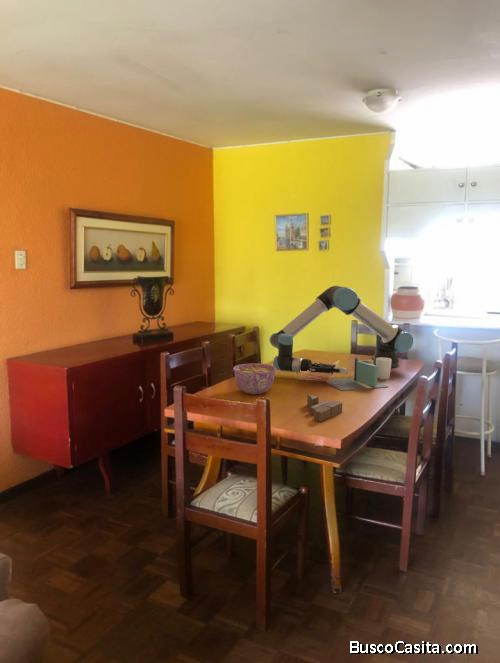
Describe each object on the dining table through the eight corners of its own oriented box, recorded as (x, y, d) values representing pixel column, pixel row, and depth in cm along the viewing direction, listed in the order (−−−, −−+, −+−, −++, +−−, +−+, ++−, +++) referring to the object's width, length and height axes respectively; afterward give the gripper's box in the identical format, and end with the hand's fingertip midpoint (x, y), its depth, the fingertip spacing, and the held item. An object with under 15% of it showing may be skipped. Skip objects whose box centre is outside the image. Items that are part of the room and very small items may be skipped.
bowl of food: (268, 400, 229) (268, 374, 227) (226, 395, 236) (226, 370, 234) (281, 389, 248) (281, 365, 246) (242, 385, 255) (242, 362, 253)
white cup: (378, 375, 277) (379, 356, 275) (392, 377, 272) (393, 358, 271) (372, 378, 271) (373, 359, 269) (387, 380, 266) (388, 361, 264)
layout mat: (367, 377, 271) (367, 376, 271) (388, 387, 252) (388, 386, 252) (323, 380, 264) (323, 379, 264) (341, 390, 245) (341, 389, 245)
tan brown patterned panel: (373, 380, 266) (374, 357, 264) (374, 380, 265) (375, 357, 263) (353, 381, 263) (354, 358, 261) (354, 382, 261) (355, 358, 260)
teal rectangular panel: (356, 380, 261) (356, 361, 259) (358, 380, 262) (359, 361, 260) (374, 386, 250) (375, 366, 248) (376, 386, 251) (377, 366, 249)
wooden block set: (344, 399, 212) (320, 409, 198) (343, 412, 213) (320, 423, 199) (308, 391, 223) (284, 401, 209) (308, 404, 224) (284, 414, 210)
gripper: (307, 370, 274) (350, 375, 263) (297, 375, 262) (342, 381, 251) (307, 356, 273) (351, 361, 262) (297, 361, 261) (342, 366, 250)
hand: (346, 371), depth 257 cm, fingers closed
